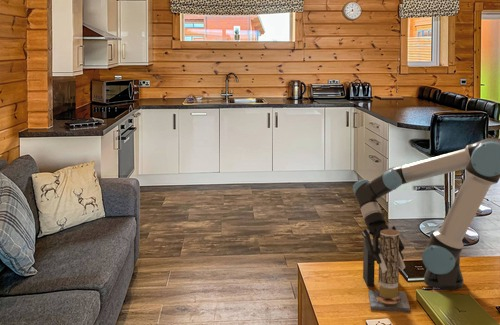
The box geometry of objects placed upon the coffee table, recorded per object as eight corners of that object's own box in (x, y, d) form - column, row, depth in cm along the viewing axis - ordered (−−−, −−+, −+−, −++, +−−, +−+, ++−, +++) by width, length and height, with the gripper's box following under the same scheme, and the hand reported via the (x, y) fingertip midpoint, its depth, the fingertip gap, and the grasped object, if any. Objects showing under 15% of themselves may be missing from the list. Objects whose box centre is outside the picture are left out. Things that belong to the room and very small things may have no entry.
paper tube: (398, 299, 183) (400, 235, 178) (379, 298, 184) (380, 234, 180) (397, 291, 189) (398, 229, 185) (378, 290, 190) (379, 228, 186)
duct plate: (405, 295, 192) (405, 291, 192) (409, 312, 179) (410, 307, 179) (368, 293, 195) (368, 289, 195) (370, 309, 181) (370, 305, 181)
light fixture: (401, 286, 200) (402, 245, 197) (367, 287, 201) (367, 245, 198) (395, 277, 210) (396, 237, 207) (362, 277, 211) (363, 237, 208)
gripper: (391, 218, 199) (413, 270, 187) (347, 223, 194) (366, 277, 182) (398, 208, 193) (422, 262, 181) (353, 213, 189) (373, 269, 176)
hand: (394, 269), depth 181 cm, fingers closed on paper tube, 7 cm apart
